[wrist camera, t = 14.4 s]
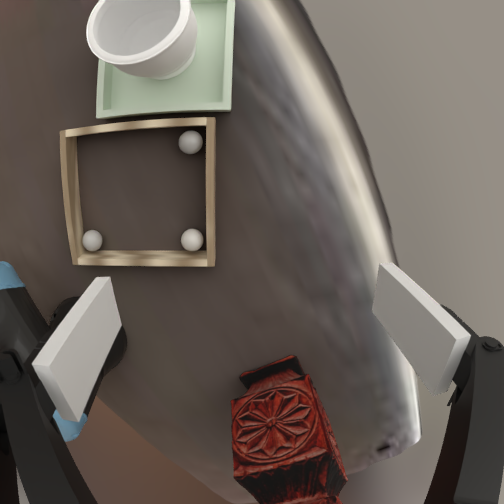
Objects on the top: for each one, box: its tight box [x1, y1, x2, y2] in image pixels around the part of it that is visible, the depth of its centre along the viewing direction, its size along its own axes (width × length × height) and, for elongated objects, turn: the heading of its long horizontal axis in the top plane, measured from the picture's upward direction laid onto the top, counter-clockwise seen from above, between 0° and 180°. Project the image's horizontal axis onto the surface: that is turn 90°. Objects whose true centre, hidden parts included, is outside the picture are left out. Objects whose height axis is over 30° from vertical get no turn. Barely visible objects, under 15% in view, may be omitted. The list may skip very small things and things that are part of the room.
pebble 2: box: [181, 229, 203, 251], centre depth 43 cm, size 3×3×3 cm
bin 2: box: [60, 117, 216, 266], centre depth 40 cm, size 22×20×4 cm
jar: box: [86, 0, 198, 80], centre depth 28 cm, size 11×10×15 cm
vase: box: [231, 355, 348, 504], centre depth 42 cm, size 14×14×30 cm
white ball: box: [82, 230, 102, 251], centre depth 42 cm, size 3×3×3 cm
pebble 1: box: [179, 130, 203, 154], centre depth 39 cm, size 3×3×3 cm
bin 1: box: [96, 0, 235, 119], centre depth 33 cm, size 18×18×4 cm
